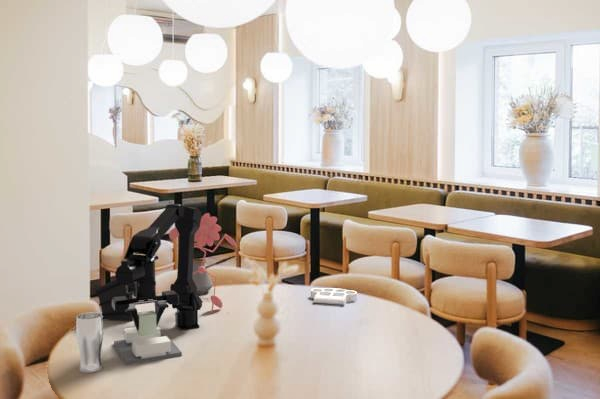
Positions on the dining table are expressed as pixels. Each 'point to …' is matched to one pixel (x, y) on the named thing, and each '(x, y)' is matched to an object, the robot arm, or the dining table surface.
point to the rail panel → (134, 359)
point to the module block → (147, 323)
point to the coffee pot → (204, 275)
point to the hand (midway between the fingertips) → (146, 328)
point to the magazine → (106, 296)
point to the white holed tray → (333, 295)
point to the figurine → (203, 236)
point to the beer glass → (90, 341)
